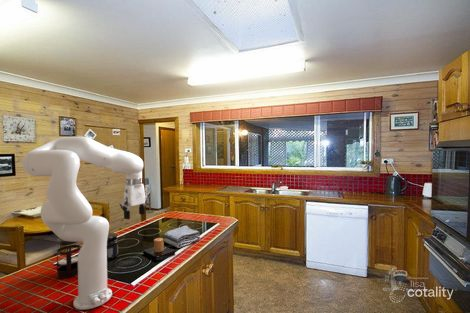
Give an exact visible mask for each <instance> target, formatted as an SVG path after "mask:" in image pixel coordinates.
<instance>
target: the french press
mask: <svg viewBox="0 0 470 313" xmlns="http://www.w3.org/2000/svg"><path fill="white" fill-rule="evenodd" d="M56 242H58V244H59V245H60V246H62V247H59V248H57V249H56V279H58V280H67V279H71V278H74V277H76V276H78V256H72V254H75V253H77V252H79V251H80V249H81V247H82V246H83V245H80V244H77V243H78V242H71V241H64V240H62V239H60V238H59V237H58V238H57V239H56ZM64 250H66V251H64ZM59 256H65V258H62V259H60V260H59Z"/></svg>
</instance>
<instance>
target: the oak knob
mask: <svg viewBox="0 0 470 313" xmlns="http://www.w3.org/2000/svg"><path fill="white" fill-rule="evenodd" d="M164 243H165V241H164V238H163V237H157V238H154V239H153V247H154V252H161V251H163V250H164V246H165V244H164Z"/></svg>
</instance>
